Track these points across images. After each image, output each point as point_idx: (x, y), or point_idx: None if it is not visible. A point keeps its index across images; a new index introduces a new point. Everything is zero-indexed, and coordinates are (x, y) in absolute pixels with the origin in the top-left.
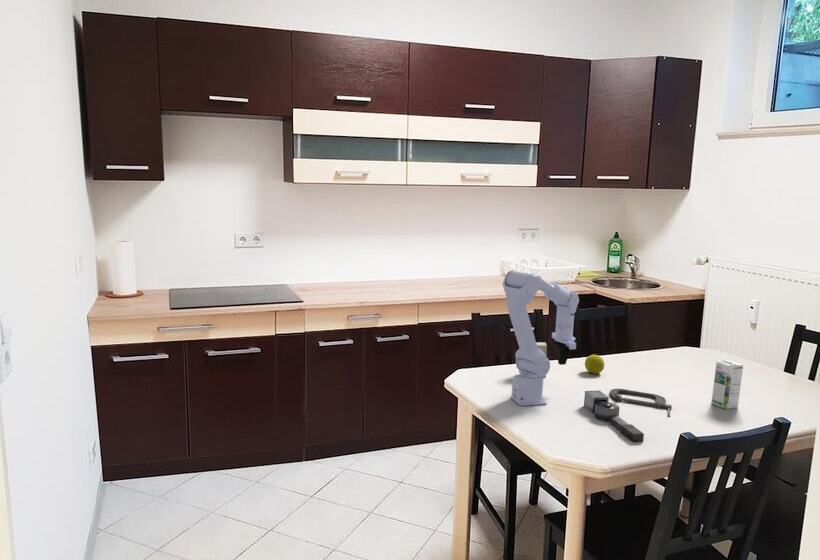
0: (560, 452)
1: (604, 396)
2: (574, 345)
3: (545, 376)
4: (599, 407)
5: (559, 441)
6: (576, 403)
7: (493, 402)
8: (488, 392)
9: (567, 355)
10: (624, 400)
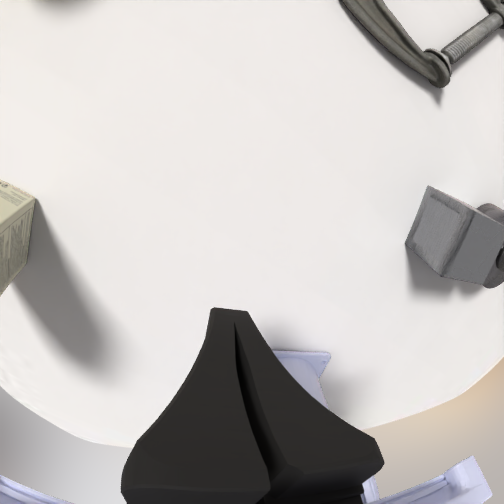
0: (464, 386)
1: (499, 238)
2: (475, 490)
3: (33, 200)
4: (494, 284)
5: (452, 380)
6: (376, 254)
7: None
8: None
9: (282, 379)
10: (452, 63)
